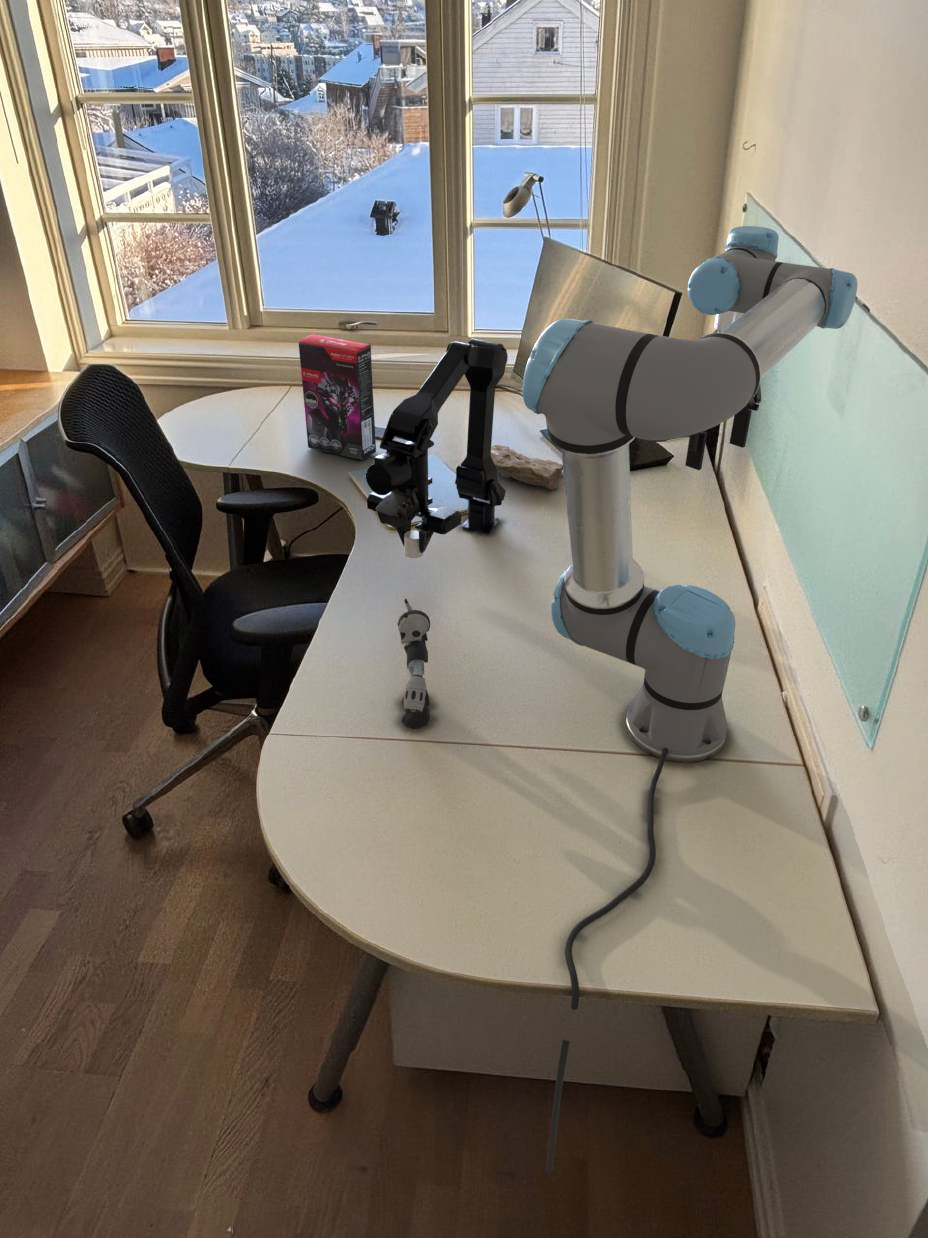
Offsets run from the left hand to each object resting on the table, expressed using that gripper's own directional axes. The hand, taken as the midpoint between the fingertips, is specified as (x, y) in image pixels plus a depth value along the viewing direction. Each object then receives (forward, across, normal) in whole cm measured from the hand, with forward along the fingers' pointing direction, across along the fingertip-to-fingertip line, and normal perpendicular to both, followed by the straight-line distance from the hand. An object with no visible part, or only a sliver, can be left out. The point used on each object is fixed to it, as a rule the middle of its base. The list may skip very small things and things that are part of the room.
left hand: (414, 549), depth 178 cm
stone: (+5, -8, +49) cm, 50 cm away
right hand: (-24, +48, +24) cm, 58 cm away
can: (+1, 0, 0) cm, 1 cm away
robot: (+6, +26, -33) cm, 43 cm away
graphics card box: (+5, -51, +36) cm, 63 cm away
